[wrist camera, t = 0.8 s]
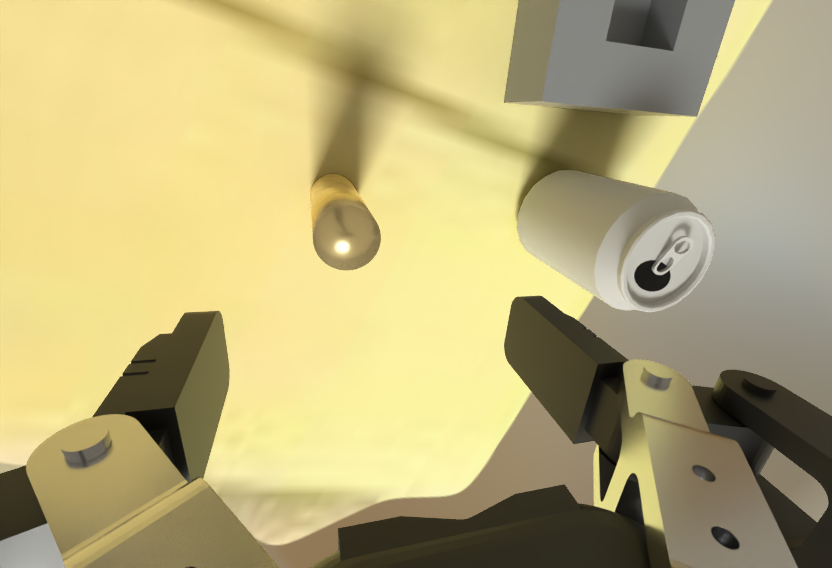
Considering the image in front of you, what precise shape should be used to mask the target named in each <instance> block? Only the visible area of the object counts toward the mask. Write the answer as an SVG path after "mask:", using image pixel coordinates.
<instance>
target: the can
mask: <svg viewBox="0 0 832 568" xmlns="http://www.w3.org/2000/svg"><path fill="white" fill-rule="evenodd" d="M517 230H518V235H519V240H520V242H521V243H522V245H523V247H524V248H525V250H526V251H527V252H529V253H530V254H531V255H533V256H534V257H536V258H537V259H539V260H540V261H542V262H543V263H545V264H546V265H548V266H550V267H551V268H553V269H554V270H556V271H557V272H559V273H560V274H562V275H564V276H565V277H567V278H568V279H570V280H571V281H573V282H574V283H576V284H577V285H579V286H581V287H582V288H584V289H585V290H587V291H588V292H590V293H591V294H593V295H594V296H596V297H598V298H599V299H601V300H602V301H604V302H606V303H607V304H608V305H610V306H612V307H613V308H617V309H622V310H627V311H628V310H634V309H636V310H640V311H644V312H653V311H659V310H663V309H665V308H667V307H670V306H672V305H674V304H676V303H678V302H679V301H680V300H682V299H683V298H684V297H686V296H687V295H688V294H690V293H691V291H692V290H693V289H694V288H695V287H696V286H697V285H698V283H699V282H700V281H701V280H702V278H703V276H704V274H705V273H706V271H707V269H708V268H709V265H710V262H711V259H712V256H713V253H714V241H715V234H714V231H713V228H712V224H711V222H710V221H709V220H708V219H707V218H706V217H705V216H704V215H703V214H702V213H699V212H698V211H697V208H696V207H695V206H694V205H693V204H692V203H691V202H690V200H689V199H688V198H686V197H683V196H681V195H678V194H675V193H672V192H668V191H663V190H659V189H655V188H650V187H646V186H641V185H637V184H633V183H628V182H624V181H620V180H615V179H611V178H607V177H602V176H598V175H593V174H589V173H585V172H580V171H576V170H559V171H556V172H554V173H551V174H549V175H547V176H545V177H544V178H542V179H541V180H540V181H539V182H537V183H536V184H535V185H534V186H533V187H532V188H531V190H530V191H529V192H528V194H527V195H526V197H525V198H524V200H523V203H522V205H521V208H520V210H519V213H518V222H517Z"/></svg>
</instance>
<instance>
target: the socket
mask: <svg viewBox="0 0 832 568" xmlns="http://www.w3.org/2000/svg"><path fill="white" fill-rule="evenodd" d="M734 2H735V0H519V4H518V11H517V17H516V24H515V31H514V38H513V45H512V52H511V59H510V65H509V72H508V79H507V86H506V93H505V100H504V103H515V104H525V105H536V106H547V107H557V108H568V109H578V110H589V111H600V112H610V113H621V114H632V115H647V116H697V115H698V112H699V109H700V106H701V103H702V100H703V97H704V94H705V90H706V87H707V84H708V81H709V78H710V75H711V72H712V69H713V66H714V63H715V60H716V57H717V54H718V51H719V48H720V45H721V42H722V39H723V35H724V32H725V29H726V26H727V23H728V20H729V17H730V14H731V11H732V8H733V5H734Z"/></svg>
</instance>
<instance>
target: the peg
mask: <svg viewBox="0 0 832 568" xmlns="http://www.w3.org/2000/svg"><path fill="white" fill-rule="evenodd" d="M310 198H311V214H312V230H313V243H314V248H315V250H316V252H317V254H318V256H319V257H320V258H321V259H322V260H323V261H324V262H325V263H326V264H327V265H329V266H331V267H333V268H336V269H339V270H354V269H357V268H360V267H362V266H364V265H366V264H367V263H369V262H370V261H371V260H372V259H373V258H374V256H375V255H376V253H377V251H378V249H379V246H380V241H381V235H380V230H379V226H378V224H377V222H376V221H375V219H374V218H373V216H372V214H371V213H370V211H369V210H368V208H367V206H366V205H365V203H364V202H363V200H362V199H361V197H360V195H359V194H358V192H357V191H356V189H355V187H354V186H353V184H352V183H351V182H350V181H349V180H348V179H347V178H345V177H344V176H341V175H338V174H327V175H324V176H322V177H320V178H319V179H318V180H317V181H316V182H315V183H314V185H313V187H312V189H311V194H310Z"/></svg>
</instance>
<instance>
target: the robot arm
mask: <svg viewBox="0 0 832 568" xmlns="http://www.w3.org/2000/svg"><path fill="white" fill-rule="evenodd" d="M504 350H505V355H506V358H507V361H508V362H509V364H510V365H511V366H512V368H513V369H514V370H515V371H516V373H517V374H518V375H519V376H520V378H521V379H522V380H523V381H524V383H525V384H526V385H527V386H528V388H529V389H530V390H531V391H532V393H533V394H534V395H535V396H536V398H537V399H538V400H539V401H540V402H541V404H542V405H543V406H544V407H545V408H546V410H547V411H548V412H549V414H550V415H551V416H552V417H553V419H554V420H555V421H556V422H557V424H558V425H559V426H560V427H561V429H562V430H563V431H564V432H565V434H566V435H567V436H568V437H569V439H570V440H571V441H572V442H573V444H577V443H583V442H589V441H595V442H596V443H597V446H596V450H595V452H594V457H593V458H594V506H590V505H585V504H578V503H577V502H576V500H575V499H574V497H573V496H572V495H571V493H570V492H569V490H568V489H567V487H566V486H565V485H559V486H554V487H550V488H544V489H539V490H534V491H529V492H524V493H518V494H515V495H513V496H511V497H509V498H507V499H505V500H503V501H501V502H499V503H498V504H496V505H494V506H492V507H490V508H488V509H486V510H484V511H483V512H481V513H479V514H477V515H475V516H473V517H471V518H468V519H464V520H456V519H439V518H420V517H402V516H400V517H395V518H390V519H385V520H380V521H374V522H369V523H364V524H359V525H354V526H349V527H343V528H338V551H337V552H335V553H333V554H332V555H330V556H328V557H326V558H325V559H323V560H321V561H320V562H318V563H317V564H315V565H314V566H312V567H310V568H832V416H830V415H829V414H827V413H825V412H824V411H822V410H820V409H818V408H817V407H815V406H814V405H812V404H811V403H809V402H807V401H806V400H804V399H802V398H801V397H799V396H797V395H796V394H794V393H792V392H791V391H789V390H787V389H786V388H784V387H783V386H781V385H779V384H777V383H775V382H773V381H771V380H769V379H767V378H765V377H762V376H759V375H756V374H753V373H749V372H746V371H740V370H725V371H723V372H722V373H721V374H720V376H719V378H718V381H717V383H716V385H715V387H714V388H709V387H701V386H692V385H691V384H690V382H688V380H687V379H686V378H685V377H684V376H683V375H681V374H680V373H678V372H677V371H675V370H673V369H671V368H669V367H667V366H665V365H662V364H659V363H656V362H652V361H647V360H640V359H636V360H628V359H626V358H625V357H624V356H623V355H621V354H620V353H619V352H617V351H616V350H615V349H613V348H612V347H611V346H609V345H608V344H607V343H606V342H604V341H603V340H602V339H600V338H599V337H598V338H597V337H596V335H595V334H594V333H593V332H591V331H590V330H587V329H586V327H585V326H584V325H582V324H581V323H580V322H579V321H577V320H576V319H575V318H573V317H571V316H569V315H566V314H564V313H563V312H562V311H560V310H559V309H558V308H557V307H555V306H554V305H553V304H551V303H550V302H549V301H548V300H546V299H545V298H544V297H542V296H525V297H516V298H515V299H514V300H513V302H512V305H511V310H510V315H509V321H508V326H507V332H506V337H505V343H504ZM228 387H229V361H228V354H227V347H226V340H225V333H224V326H223V319H222V315H221V313H220V311H209V312H188V313H184V315H183V316H182V318H181V319H180V321H179V323H178V324H177V326H176V328H175V329H174V331H173V333H172V334H159V335H158V336H156V337H155V338H154V339H152V340H151V341H149V342H148V343H146V344H145V345H143V346H142V347H141V348H140V349H139V351H138V352H137V354H136V355H135V357H134V358H133V359H132V361H131V364H129V365H128V367H127V368H126V369H125V371H124V372H123V376H122V377H120V378H119V379H118V381H117V382H116V384H115V385H114V387H113V388H112V390H111V391H110V392H109V394H108V395H107V397H106V398H105V400H104V401H103V402H102V404H101V405H100V407H99V408H98V410H97V411H96V412H95V414H94V415H93V417H92V418H89V419H85V420H82V421H80V422H77V423H74V424H72V425H70V426H68V427H66V428H64V429H62V430H60V431H58V432H57V433H55V434H54V435H52V436H51V437H49V438H48V439H46V440H45V441H44V442H43V443H41V444H40V445H39V446H38V447H37V448H36V449H35V450H34V452H33V453H32V454H31V456H30V457H29V459H28V462H27V465H26V466H23V467H20V468H17V469H14V470H11V471H8V472H4V473H1V474H0V568H280V567H279V566H278V565H277V564H276V563H275V561H274V560H273V559H272V558H271V557H270V556H269V554H268V553H267V552H266V551H265V550H264V549H263V547H262V546H261V545H260V544H259V543H258V541H257V540H256V539H255V538H254V537H253V536H252V534H251V533H250V532H249V531H248V530H247V529H246V527H245V526H244V525H243V524H242V523H241V522H240V520H239V519H238V518H237V517H236V516H235V515H234V513H233V512H232V511H231V510H230V509H229V508H228V506H227V505H226V504H225V503H224V502H223V501H222V499H221V498H220V497H219V496H218V495H217V494H216V492H215V491H214V490H213V489H212V488H211V487H210V485H209V484H208V483H207V482H206V481H205V480H203V477H204V474H205V470H206V466H207V463H208V459H209V456H210V452H211V449H212V445H213V441H214V438H215V434H216V431H217V427H218V423H219V420H220V416H221V413H222V409H223V406H224V402H225V398H226V395H227V391H228ZM774 448H776V449H777V450H778V451H780V452H781V453H782V454H784V455H785V456H786V457H788V458H789V459H790V460H791V461H793V462H794V463H795V464H797V465H798V466H799V467H801V468H802V469H803V470H805V471H806V472H807V473H808V474H810V475H811V476H812V477H814V478H815V479H816V480H817V481H818V482H819V483H820V484H821V485H822V486H823V488H824V489H825V491H826V493H827V496H828V500H829V505H828V508H827V510H826V511H825V513H824V514H823V516H822V517H821V518H820V520H819V522H818V523H817V522H816V521H814V520H813V519H812V518H811V517H810V516H809V515H807V514H806V513H805V512H804V511H803V510H801V509H800V508H799V507H798V506H797V505H796V504H794V503H793V502H792V501H791V500H790V499H788V498H787V497H786V496H785V495H784V494H782V493H781V492H780V491H779V490H778V489H777V488H775V487H774V486H773V485H772V484H771V483H770V482H768V481H767V480H766V479H765V478H764V477H763V476H761V475H760V472H761V470H762V469H763V467H764V465H765V463H766V461H767V460H768V458H769V456H770V454H771V453H772V451H773V449H774Z"/></svg>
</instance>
